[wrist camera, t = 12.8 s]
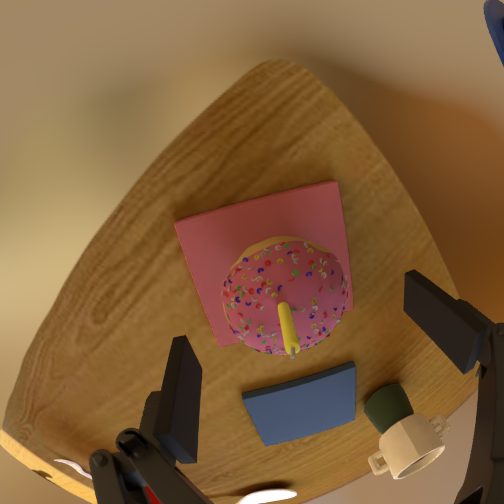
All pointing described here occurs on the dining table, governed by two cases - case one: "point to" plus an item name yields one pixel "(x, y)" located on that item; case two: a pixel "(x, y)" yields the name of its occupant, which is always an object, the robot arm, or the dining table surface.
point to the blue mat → (303, 405)
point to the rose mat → (259, 239)
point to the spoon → (267, 496)
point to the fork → (75, 467)
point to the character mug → (403, 433)
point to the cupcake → (284, 295)
